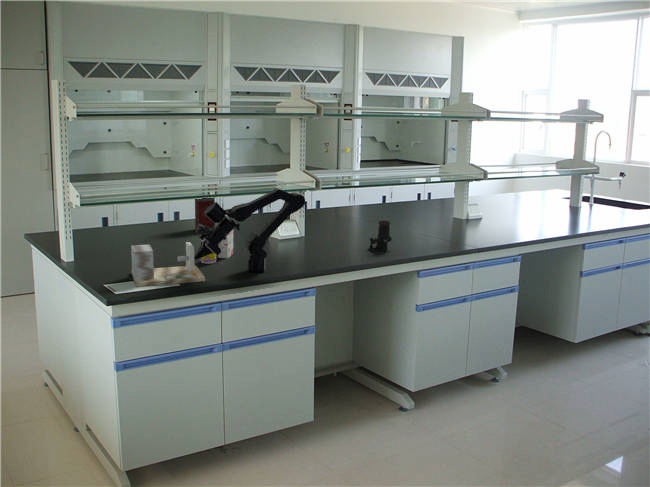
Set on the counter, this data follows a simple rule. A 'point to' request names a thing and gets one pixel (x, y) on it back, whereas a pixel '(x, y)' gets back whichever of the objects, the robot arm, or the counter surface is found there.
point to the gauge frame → (158, 270)
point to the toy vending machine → (199, 212)
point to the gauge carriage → (188, 258)
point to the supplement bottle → (209, 258)
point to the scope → (381, 237)
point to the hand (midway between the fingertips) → (194, 258)
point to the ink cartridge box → (226, 246)
